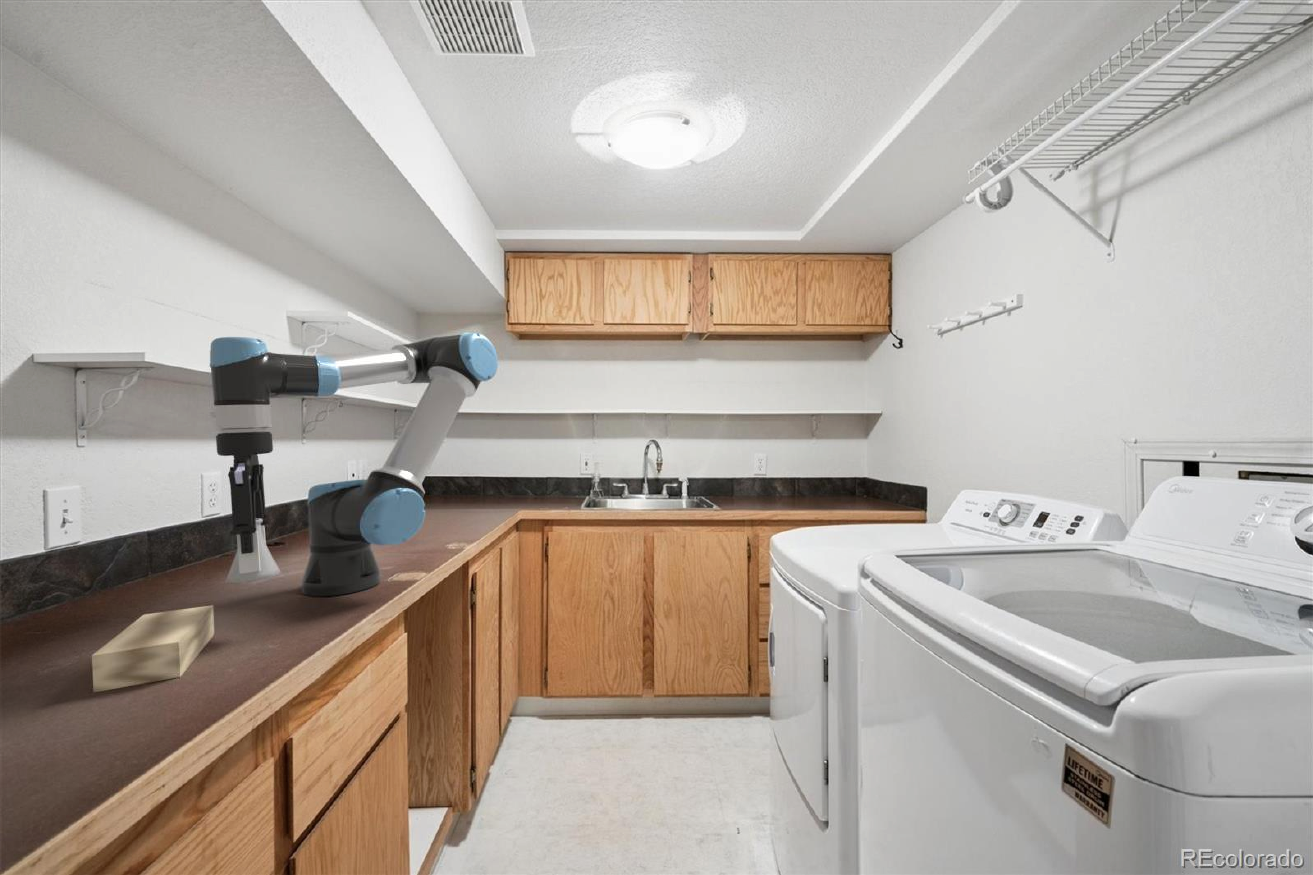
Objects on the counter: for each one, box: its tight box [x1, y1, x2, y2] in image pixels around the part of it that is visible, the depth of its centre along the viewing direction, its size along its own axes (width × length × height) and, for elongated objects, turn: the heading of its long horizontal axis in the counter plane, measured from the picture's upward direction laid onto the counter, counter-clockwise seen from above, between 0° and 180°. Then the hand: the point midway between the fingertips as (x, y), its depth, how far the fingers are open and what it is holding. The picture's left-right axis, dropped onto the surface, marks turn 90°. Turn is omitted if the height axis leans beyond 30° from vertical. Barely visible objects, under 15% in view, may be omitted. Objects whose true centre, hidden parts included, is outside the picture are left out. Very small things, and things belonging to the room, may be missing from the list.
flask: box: [225, 518, 282, 584], centre depth 92 cm, size 7×7×10 cm
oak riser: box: [91, 604, 215, 693], centre depth 83 cm, size 9×18×5 cm, turn 27°
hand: (253, 567), depth 92 cm, fingers closed on flask, 5 cm apart
